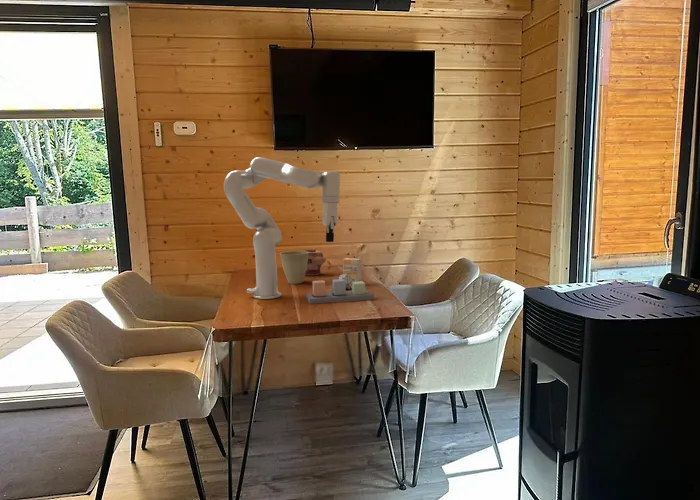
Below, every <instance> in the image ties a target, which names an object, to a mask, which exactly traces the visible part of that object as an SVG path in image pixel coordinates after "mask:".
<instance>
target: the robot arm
mask: <svg viewBox="0 0 700 500" xmlns="http://www.w3.org/2000/svg"><path fill="white" fill-rule="evenodd" d="M267 179H269V180H274V181H278V182H282V183H285V184H291V185H294V186H295V185H296V186H298V187H299V186H300V187H303V188H307V189H318V188H322V190H321V191H322V192H321V193H322V194H321V195H322V196H321V198H322V199H321V203H322V204H323V206H322V208H323V209H322V219H321V220H322V225H323V226H325V227H326V228H325V231H326V232H325V242H327V243H333V242H335V241H334V238H335V236H334V235H335V233H334V232H335V227H336V226H337V225H338V205H339V204H340V191H341V190H340V186H341V182H340V181H341V174H340V173H339V172H338V171H319V170H312V169H306V168H302V167H298V166H294V165H291V164H289V163H288V162H284V161H279V160H276V159H275V160H274V159H270V158H268V157H262V156H259V157H258V156H257V157H254V158H253V159H252V160H251V161H250V163H249V168H247V169H244V170H243V169H242V170H240V169H237V170H233V171H230V172H229V173H227V175H226V176H225V178H224V181H223V192H224V195H225V197H226V198H227V200H228V201H229V203H230V204H231V206H232V207H233V209H234V211H235V212H236V214H237V215H238V217H239V219H241V221H242V224H244V226H245V227H246V228H248V229H249V230H250V229H251V230H255V229H256V231H255V233H254V234H253V238H252V246H253V249H254V255H255V256H254V259H255V260H254V261H255V277H256V278H255V279H256V280H255V282H256V285H255V287H253V288H246V293H247V294H253V298H254V299H258V300H272V299H277V298H280V297H281V296H282V292H280V291H279V290H278V289H279V288H278V287H279V286H278V266H277V264H278V262H277V253H276V246H277V245H278V246H279V244H280V243H281V241H282V239H283V235H282V231H281V230H280V228H279V226H278V225H277V224H276V222H275V220H274V219H273V217H272V216H271V214H270V213H269V212H268V211H267V210H266V209H264V208H263V207H260V206H259V207H257V206H255V204H254V203H253V201H252V199H251V198H250V197H249V195H248V194H247V193H246V192H245V191H244V190H248V189H252V188H253V187H255V186H257V185H258V184H260V183H261V182H263V181H265V180H267Z"/></svg>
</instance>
